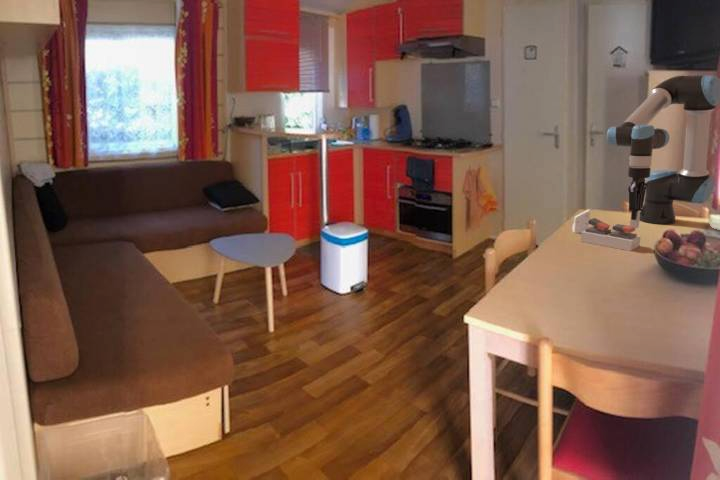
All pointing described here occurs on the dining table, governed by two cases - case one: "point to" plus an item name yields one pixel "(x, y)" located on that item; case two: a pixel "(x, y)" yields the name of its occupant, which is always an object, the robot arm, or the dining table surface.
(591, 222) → the rocker
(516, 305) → the dining table surface
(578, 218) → the white wedge bracket
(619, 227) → the rocker
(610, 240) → the power strip
